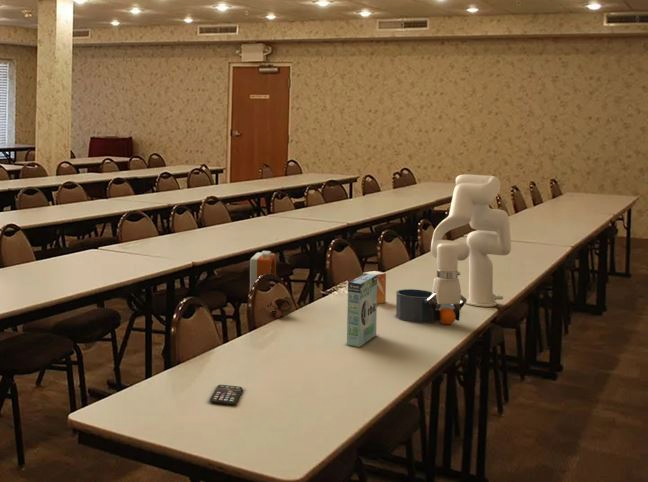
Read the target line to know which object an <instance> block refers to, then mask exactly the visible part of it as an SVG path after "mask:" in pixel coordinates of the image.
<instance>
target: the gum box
mask: <svg viewBox="0 0 648 482" xmlns="http://www.w3.org/2000/svg"><path fill="white" fill-rule="evenodd" d="M364 273H365V272H364ZM377 305H378V304H377V275H375V274H367V273H365V274H363V273H362V274H361V275H360V276H358V277H355V278H354V279H352V280H349V281H348V282H347V316H346V317H347V318H346V320H347V321H346V322H347V323H346V346H350V347H357V348H360V347H362V346H363V345H365V344H366V343H367V342H368V341H370V340H371V339H373V338H374V337H376V336H377V317H378V316H377V313H378V311H377V309H378V308H377V307H378V306H377Z"/></svg>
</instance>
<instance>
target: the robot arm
mask: <svg viewBox="0 0 648 482" xmlns="http://www.w3.org/2000/svg"><path fill="white" fill-rule="evenodd" d="M500 190H501V180H500V179H499V178H498V176H496V175H485V174H484V175H483V174H468V173H467V174H465V173H464V174H459V175H458V176H456V177H455V187H454V189H453V191H452V192H453V193H452V198H451V201H450V208H449V213H448V216H447V217H445V218H444V219H443V220H441V222H439V223H438V225H436V227H435V229H434V230H433V233H432V237H431V238H432V239H431V243H430V253H431V255H432V256H433V257H434V258H436V277H434V279H433V283H432V291H431V292H432V295H431V296H430V297H429V298H428V299H427V302H428V303H429V304H430V306H431V307H432V308H433V309H434V319H435V320H436V321H437V322H441V321H440V311H439V308H440V306H441V304H451V305H453V306H454V307H455V309H453V311H454V313H455V316H456V318H455V321H460V315H461V314H460V313H461V310H462V308H463V307H464V306H465V304H466V305H468V306H475V307H484V308H488V307H489V308H490V307H496V306H497V300H499V301H500V300H504V296H503V295H502V294H498V295H497V294H495V293H494V292H493V291H494V289H493V286H494V285H493V283H494V279H493V277H494V276H493V275H494V265H493V261H492V260H491V258H490V257H489V255H494V256H508V255H509V254H510V253H511V250H512V238H511V237H512V236H511V224H510V217H509V214H508V213H507V211H505V210H503V209H500V208H499V209H498V208H491V207H490V204H491V203H492V202H493V201H494V200H495V198H496V197H497V196H498V195H499V193H500V192H501V191H500ZM468 224H469V226H470V228H472V229H473V230H474V231H471V232H469V233H468V234H467V236H466V242H464V241H458V240H450V239H443V237H444V236H445V235H446V234H447V233H448V232H449V231H451V230H454V229H457V228H459V227H463V226H466V225H468ZM466 259H468V298H466V297H465V296H463V294H462V290H461V289H462V288H461V282H460V279H459V276H461V272H460V271H458V262H459V261H465V260H466ZM432 301H433V302H435V303H434V304H433V302H432Z"/></svg>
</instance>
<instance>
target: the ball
mask: <svg viewBox="0 0 648 482" xmlns="http://www.w3.org/2000/svg"><path fill="white" fill-rule="evenodd" d="M455 318H456V316H455V313H454V311H453V310H451V309H449V308H443V309H441V310H440V321H439V322H440V323H442V324H443V325H448V326H449V325H452V324H454V322H455V321H456V320H455Z"/></svg>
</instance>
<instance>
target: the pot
mask: <svg viewBox="0 0 648 482" xmlns="http://www.w3.org/2000/svg"><path fill="white" fill-rule="evenodd" d="M395 295H396V297H395V298H396V299H395V300H396V302H395V304H396V305H395V309H396V310H395V314H396V318H397V319H399V320H402V321H404V322H405V321H406V322H412V323H425V324H426V323H433V322H436V321H437V320H435V319H434V309H433V308H432V307H431V306H430V304H429V303H428V302H427V299H428V298H429V297H430V296H431V295H432V291H430V290H423V289H415V288H413V289H412V288H408V289H407V288H404V289H398V290H397V291H396V292H395ZM432 302H433V301H432ZM434 303H435V302H433V304H434Z"/></svg>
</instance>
